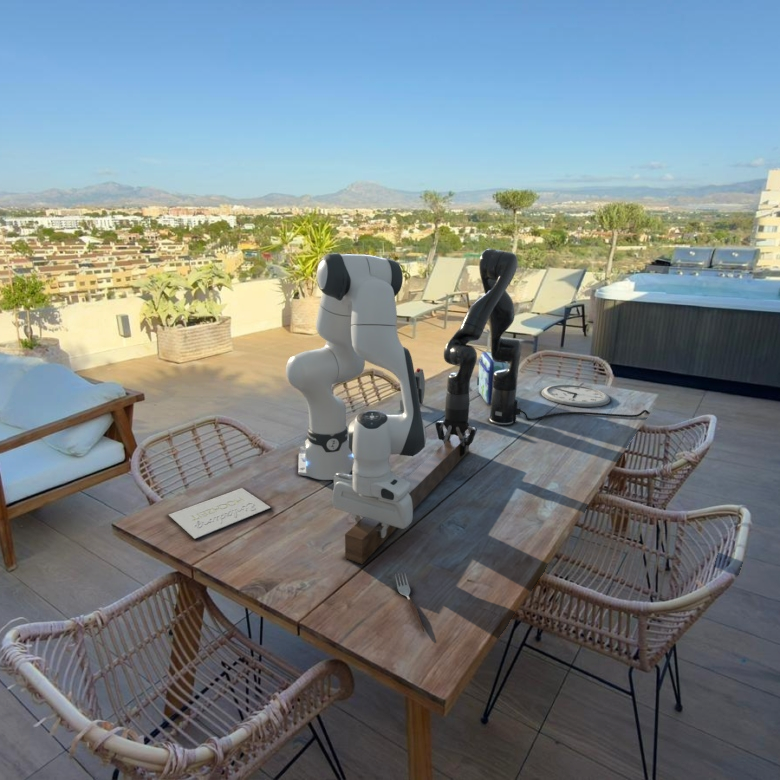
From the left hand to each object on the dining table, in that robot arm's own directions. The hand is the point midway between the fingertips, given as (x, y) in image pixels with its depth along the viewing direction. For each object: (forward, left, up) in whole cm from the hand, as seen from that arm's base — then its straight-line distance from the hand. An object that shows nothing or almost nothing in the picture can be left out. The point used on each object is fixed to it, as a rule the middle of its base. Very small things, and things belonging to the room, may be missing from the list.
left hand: (371, 532), depth 125 cm
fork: (+23, +1, -3) cm, 23 cm away
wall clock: (-80, +125, -3) cm, 149 cm away
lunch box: (-88, +86, -3) cm, 123 cm away
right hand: (-37, +41, -1) cm, 56 cm away
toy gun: (-88, +48, -3) cm, 101 cm away
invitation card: (-27, -33, -3) cm, 43 cm away
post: (-19, +21, -3) cm, 28 cm away
